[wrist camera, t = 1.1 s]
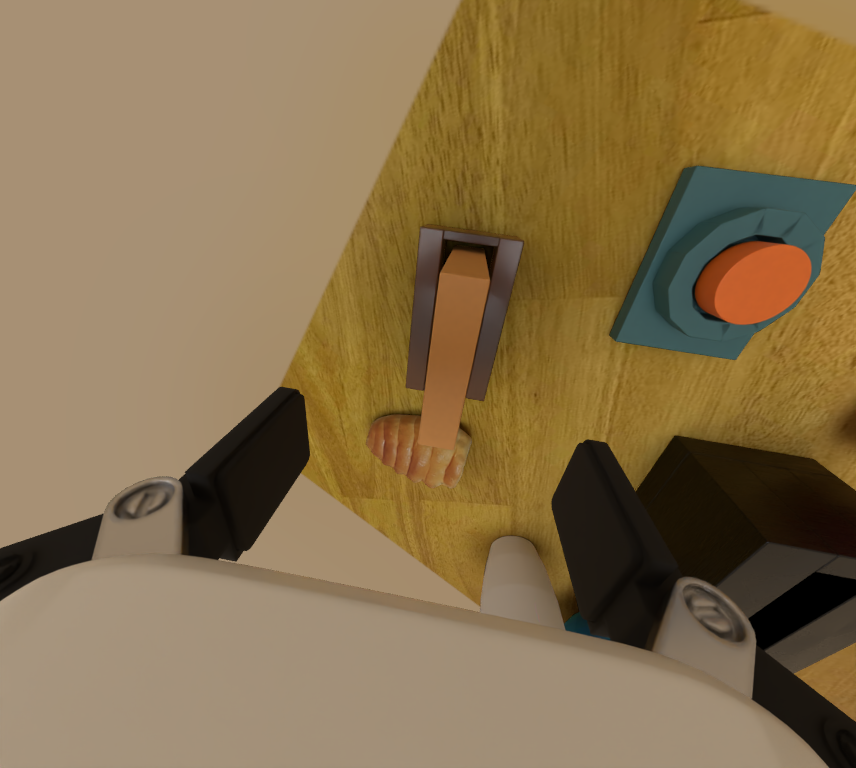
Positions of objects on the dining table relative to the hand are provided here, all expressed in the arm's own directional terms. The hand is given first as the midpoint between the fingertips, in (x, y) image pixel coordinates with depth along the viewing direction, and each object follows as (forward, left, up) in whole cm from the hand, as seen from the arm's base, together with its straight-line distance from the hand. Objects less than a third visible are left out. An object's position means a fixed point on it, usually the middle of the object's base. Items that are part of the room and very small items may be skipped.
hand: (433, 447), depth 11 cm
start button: (-5, +15, -12) cm, 20 cm away
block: (-5, +15, -15) cm, 22 cm away
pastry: (+13, -1, -15) cm, 19 cm away
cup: (+27, +11, -15) cm, 32 cm away
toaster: (+15, +25, -15) cm, 33 cm away
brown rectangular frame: (0, 0, -15) cm, 15 cm away
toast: (0, 0, -15) cm, 15 cm away
